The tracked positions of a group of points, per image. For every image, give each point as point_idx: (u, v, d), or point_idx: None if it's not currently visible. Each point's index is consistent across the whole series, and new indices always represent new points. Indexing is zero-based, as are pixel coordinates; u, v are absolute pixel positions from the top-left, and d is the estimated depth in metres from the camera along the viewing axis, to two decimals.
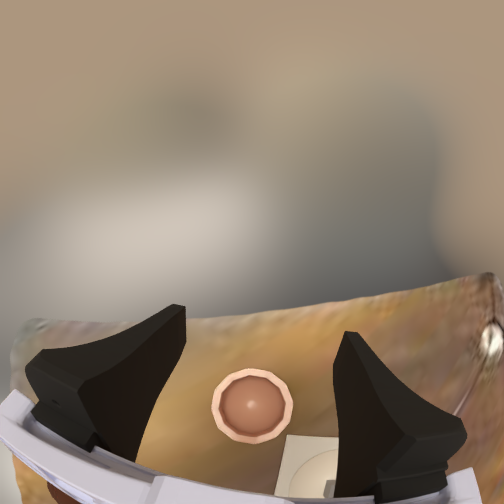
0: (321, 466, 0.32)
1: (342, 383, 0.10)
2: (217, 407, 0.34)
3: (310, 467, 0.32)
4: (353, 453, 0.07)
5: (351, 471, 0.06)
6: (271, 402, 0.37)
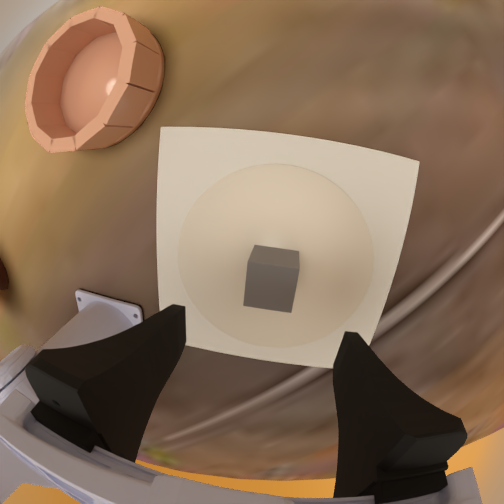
0: (238, 206, 0.18)
1: (342, 383, 0.10)
2: (30, 101, 0.14)
3: (212, 206, 0.18)
4: (353, 453, 0.07)
5: (351, 471, 0.06)
6: None
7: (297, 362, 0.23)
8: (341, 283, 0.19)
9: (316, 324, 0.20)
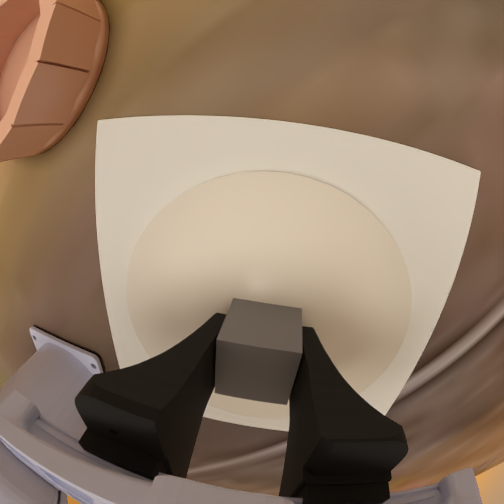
0: (205, 239, 0.11)
1: None
2: None
3: (167, 239, 0.12)
4: (293, 451, 0.07)
5: (290, 470, 0.07)
6: None
7: None
8: (361, 349, 0.12)
9: None
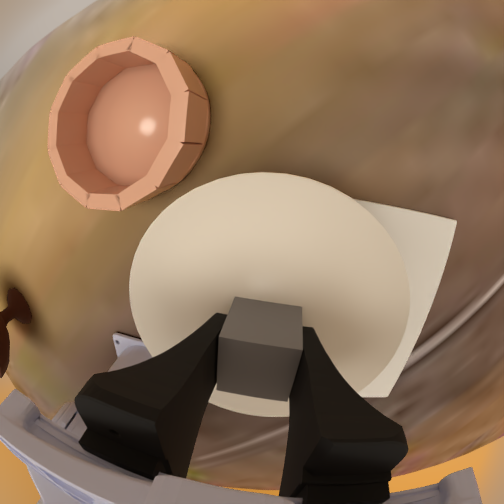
0: (208, 239, 0.12)
1: None
2: (55, 144, 0.15)
3: (170, 238, 0.12)
4: (293, 451, 0.07)
5: (290, 469, 0.07)
6: (166, 109, 0.16)
7: None
8: (360, 347, 0.12)
9: None
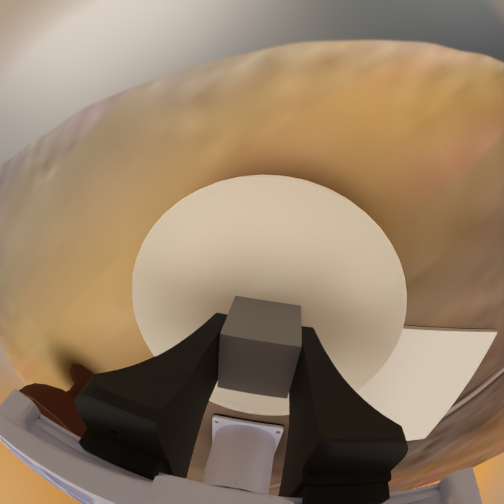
0: (209, 240, 0.12)
1: (293, 379, 0.10)
2: None
3: (172, 239, 0.12)
4: (293, 451, 0.07)
5: (290, 469, 0.07)
6: None
7: None
8: (358, 346, 0.13)
9: None
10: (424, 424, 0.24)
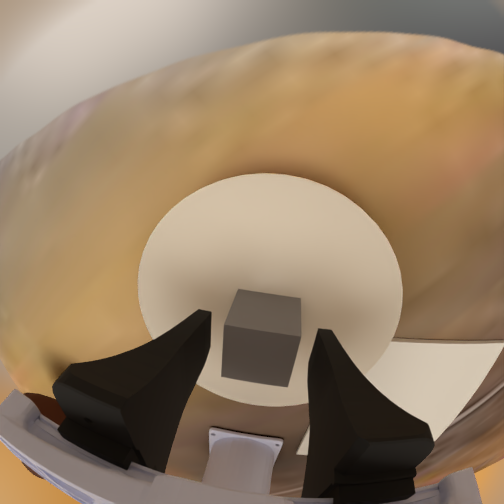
0: (213, 235, 0.13)
1: (314, 381, 0.10)
2: None
3: (177, 235, 0.13)
4: (318, 453, 0.07)
5: (315, 471, 0.07)
6: None
7: None
8: (356, 337, 0.13)
9: None
10: None
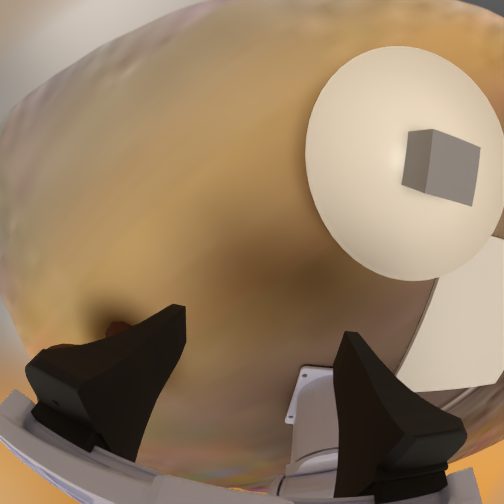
0: (389, 83, 0.11)
1: (342, 383, 0.10)
2: None
3: (358, 79, 0.12)
4: (353, 453, 0.07)
5: (351, 471, 0.06)
6: None
7: (469, 386, 0.23)
8: (486, 191, 0.12)
9: (462, 244, 0.14)
10: (498, 362, 0.21)
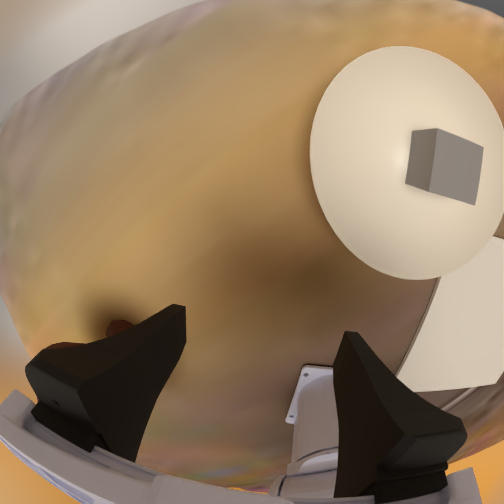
0: (393, 83, 0.11)
1: (342, 383, 0.10)
2: None
3: (363, 78, 0.12)
4: (353, 453, 0.07)
5: (351, 471, 0.06)
6: None
7: (469, 386, 0.23)
8: (488, 191, 0.12)
9: (464, 243, 0.14)
10: (499, 362, 0.21)
